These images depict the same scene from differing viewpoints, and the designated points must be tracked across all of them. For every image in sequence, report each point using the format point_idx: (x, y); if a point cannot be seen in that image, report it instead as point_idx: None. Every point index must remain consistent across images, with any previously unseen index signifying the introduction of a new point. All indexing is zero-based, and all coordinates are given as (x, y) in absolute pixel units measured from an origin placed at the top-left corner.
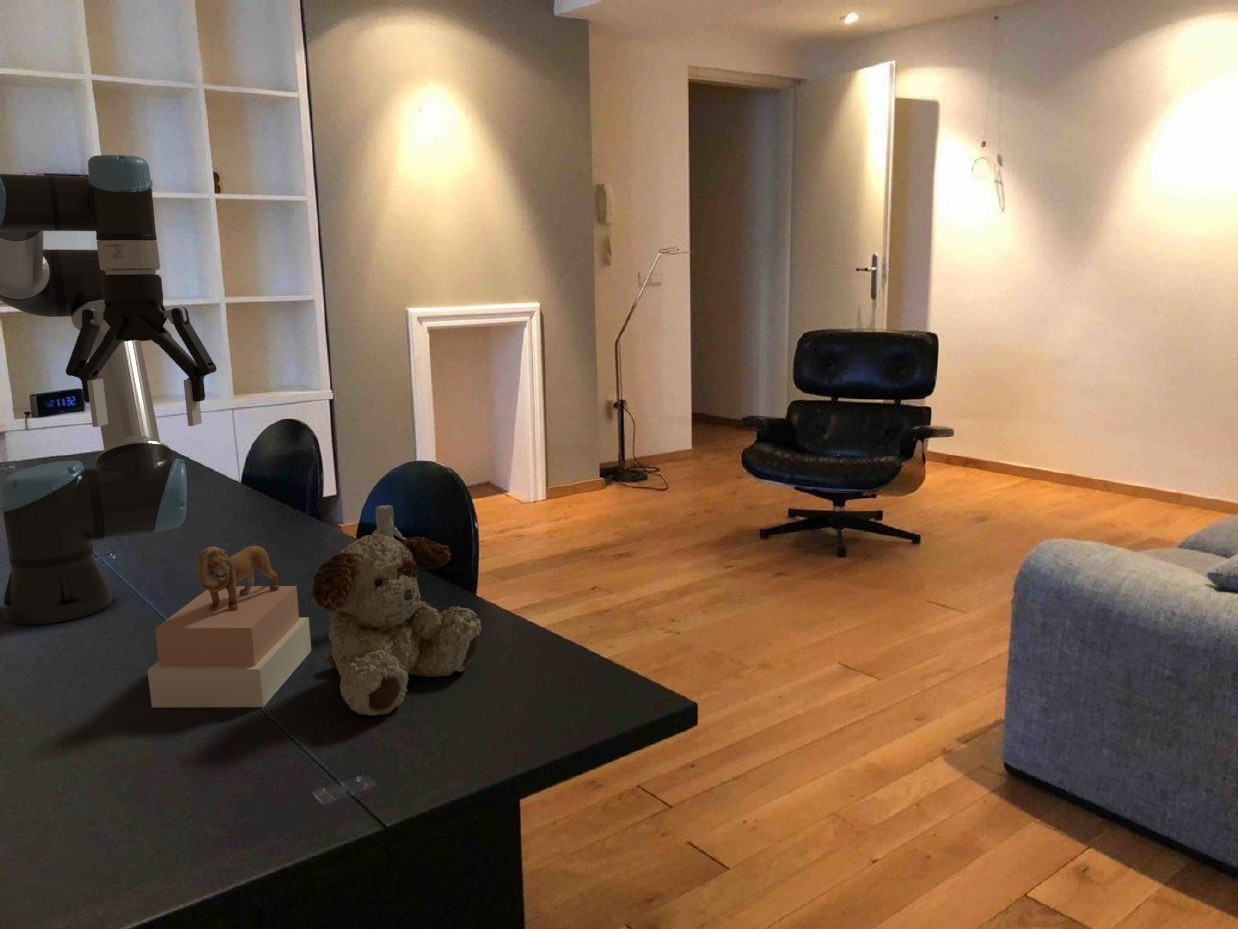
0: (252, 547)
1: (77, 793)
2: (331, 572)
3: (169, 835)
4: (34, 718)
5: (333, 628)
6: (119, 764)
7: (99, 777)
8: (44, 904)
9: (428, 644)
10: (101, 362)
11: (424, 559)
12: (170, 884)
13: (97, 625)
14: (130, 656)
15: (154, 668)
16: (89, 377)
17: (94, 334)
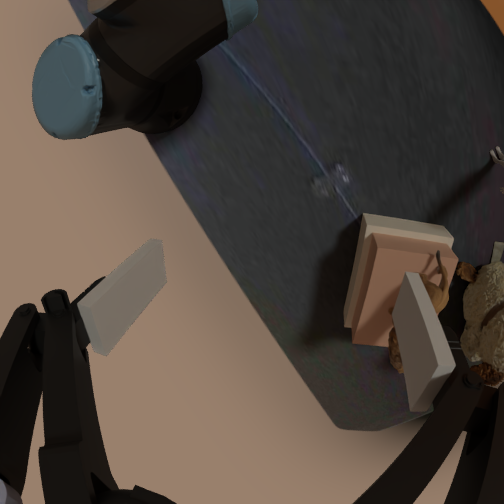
0: (439, 309)
1: (333, 382)
2: (485, 381)
3: (379, 405)
4: (270, 311)
5: (472, 344)
6: (345, 364)
7: (338, 372)
8: (345, 426)
9: None
10: (86, 386)
11: None
12: (383, 422)
13: (219, 131)
14: (290, 213)
15: (348, 325)
16: (85, 348)
17: (2, 437)
